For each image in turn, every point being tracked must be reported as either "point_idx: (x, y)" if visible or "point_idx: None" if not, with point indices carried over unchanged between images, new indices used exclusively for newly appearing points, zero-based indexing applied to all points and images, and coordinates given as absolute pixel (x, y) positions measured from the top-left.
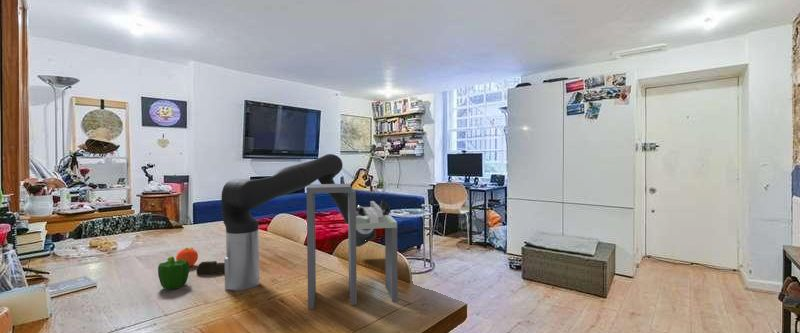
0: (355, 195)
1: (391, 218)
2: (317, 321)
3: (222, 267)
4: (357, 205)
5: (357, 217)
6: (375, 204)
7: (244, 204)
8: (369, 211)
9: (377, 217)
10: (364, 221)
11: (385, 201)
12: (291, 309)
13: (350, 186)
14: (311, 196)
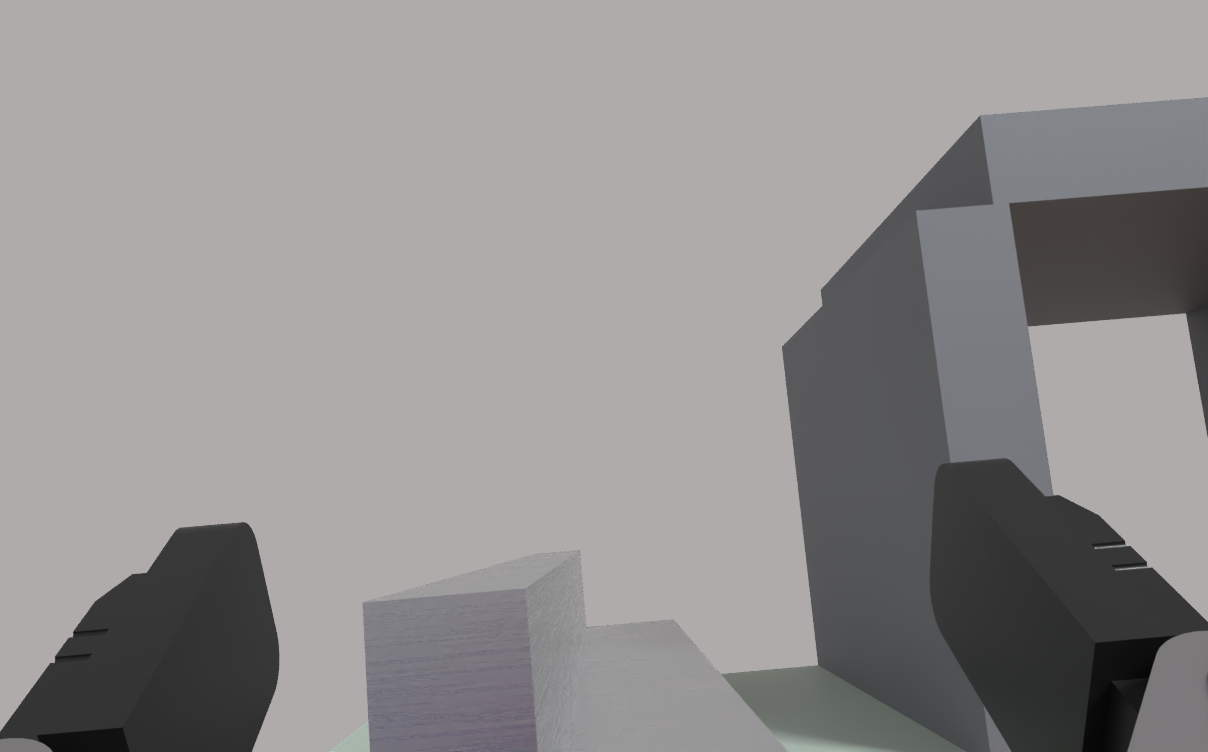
0: (788, 377)
1: (357, 748)
2: None
3: None
4: (931, 587)
5: (878, 745)
6: (519, 564)
7: None
8: (651, 681)
9: (591, 628)
10: (736, 690)
11: (137, 585)
12: None
13: (831, 280)
14: (1201, 341)
